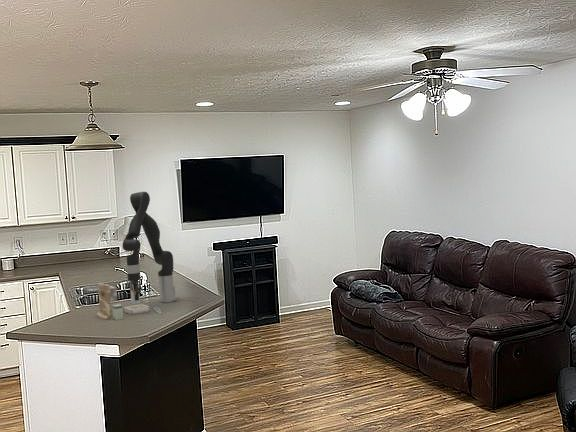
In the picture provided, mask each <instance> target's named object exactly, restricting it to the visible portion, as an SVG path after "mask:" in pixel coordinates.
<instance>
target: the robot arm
mask: <svg viewBox="0 0 576 432" xmlns="http://www.w3.org/2000/svg"><path fill="white" fill-rule="evenodd" d="M129 201H130V204H131V206H132V208H133V211H134V212H135V214H134V216H133V217H132V219H131V221H130V223H129V227H128V231H127V234H126V236H125V238H124V239H123V241H122V249H123V250H124V251H125V252H132V253H131V254H129V255H127V256H126V274H127V281H128V287H129V291H130V290H133V291H134V293H135V301H138V300H139V294H141V283H140V284H139V280H141V269H140V268H141V267H140V262H139V261H140V259H139V258H140V257H139V255H140V252H141V248H142V247H141V242H140V240H139V239H138V237H140V234H141V230H143V232H144V234H145V237H146V239H147V241H148V244H149V246H150V247H149V248H150V249H151V253H152V256H153V257H152V258H153V259H154V262H155V263H156V264H158V265H161V269H160V270H159V271H157V276H158V287H159V288H158V289H159V302H160V303H172V302H175V301H177V299H176V286H175V285H174V275H173V272H174V256H173V253H172V252H171V251H169V250H163V248H162V246H161V243H160V238H161V230H160V228H159V225H158V223H157V222H156V220H155V219H154V218H153V217H151V215H150V214H148V213H147V210H148V207H149V205H150V201H151V197H150V194H149V192H147V191H139V192H134V193H131V194H130V196H129ZM129 281H130V282H129ZM137 291H138V292H137Z"/></svg>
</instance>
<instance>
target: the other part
mask: <svg viewBox="0 0 576 432" xmlns="http://www.w3.org/2000/svg"><path fill="white" fill-rule="evenodd" d="M112 314H113V315H114V318H113V320H116V321H117V320H123V319H124V316H123V305H122V304H121V303H117V304H113V305H112Z"/></svg>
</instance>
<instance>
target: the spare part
mask: <svg viewBox="0 0 576 432" xmlns="http://www.w3.org/2000/svg"><path fill="white" fill-rule="evenodd" d="M129 292H130V301H131V302H130V303H131V304H133V305H135V304H136V305H137V304H140V303H141V297H140V294H141V293H139V300H138V301H135V293H134V291H133V290H130V289H129ZM137 292H138V291H137Z"/></svg>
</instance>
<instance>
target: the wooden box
mask: <svg viewBox="0 0 576 432" xmlns="http://www.w3.org/2000/svg"><path fill="white" fill-rule="evenodd" d="M97 290H98V303H99V311H100V312H96V316H97V317H100V318H102V319H104V320H111V319H114V315H113V309H112V303H115V302H118V293H117V292H118V291H117V287H116V286H112V285H109V284H106V283H102V282H98V283H97Z"/></svg>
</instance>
